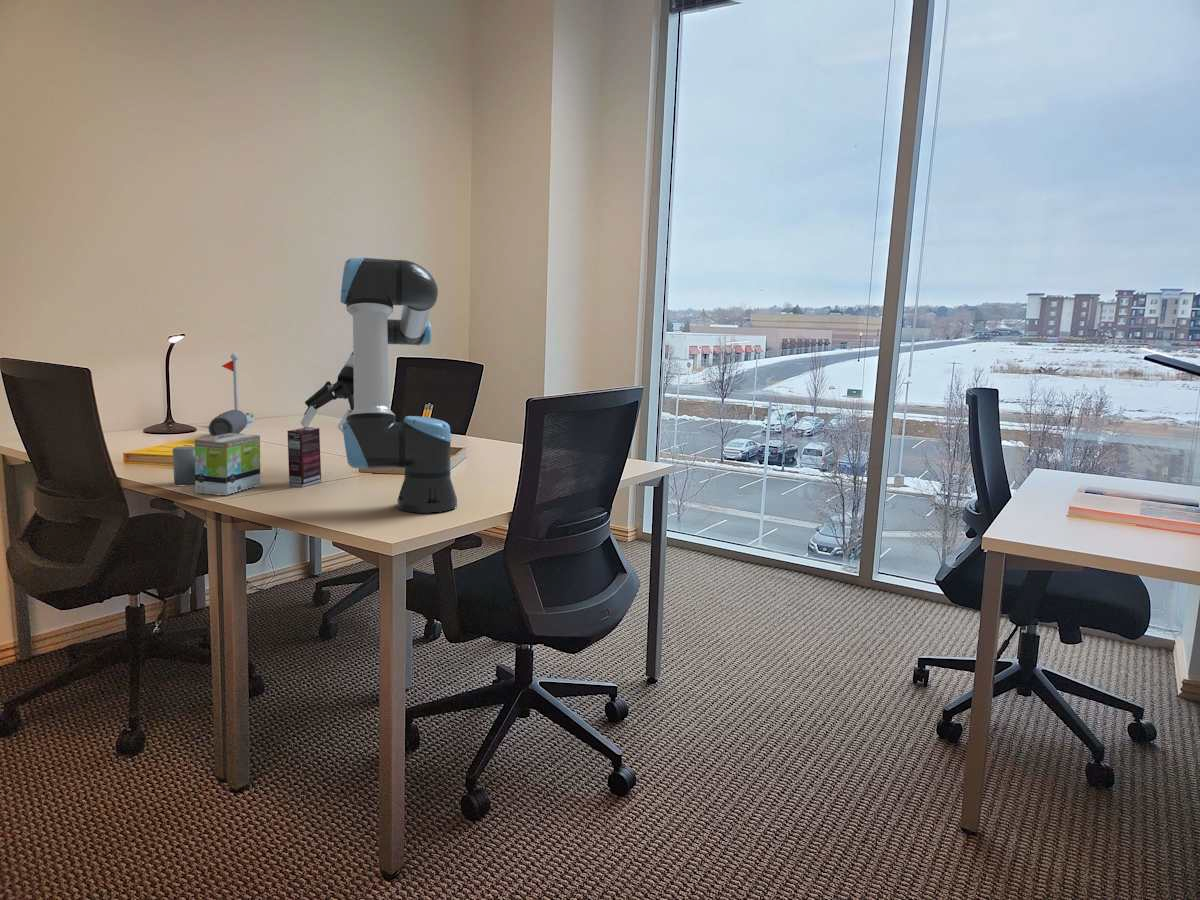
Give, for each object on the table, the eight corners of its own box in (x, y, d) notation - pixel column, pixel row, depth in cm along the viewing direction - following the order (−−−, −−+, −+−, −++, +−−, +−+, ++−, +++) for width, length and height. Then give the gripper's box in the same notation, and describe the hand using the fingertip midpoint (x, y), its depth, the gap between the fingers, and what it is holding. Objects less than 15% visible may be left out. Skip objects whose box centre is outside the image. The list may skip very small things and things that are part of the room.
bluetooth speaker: (223, 433, 320) (222, 408, 319) (249, 434, 322) (248, 408, 320) (207, 443, 298) (206, 415, 297) (234, 443, 300) (233, 416, 298)
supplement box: (308, 480, 243) (306, 426, 240) (321, 482, 242) (320, 428, 239) (287, 485, 235) (286, 430, 232) (302, 487, 234) (300, 431, 231)
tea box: (228, 497, 220) (226, 441, 217) (194, 494, 222) (192, 439, 219) (262, 485, 234) (260, 433, 232) (230, 483, 236) (228, 431, 234)
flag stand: (248, 424, 347) (246, 352, 342) (259, 428, 337) (256, 353, 332) (215, 426, 339) (212, 352, 334) (225, 430, 329) (222, 354, 324)
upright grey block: (207, 482, 235) (206, 447, 234) (187, 487, 229) (185, 451, 227) (189, 479, 238) (187, 445, 236) (168, 484, 231) (166, 448, 230)
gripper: (393, 384, 253) (363, 439, 242) (327, 378, 262) (294, 431, 251) (382, 367, 247) (350, 423, 236) (315, 362, 256) (281, 416, 245)
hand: (322, 427), depth 244 cm, fingers open, 13 cm apart
